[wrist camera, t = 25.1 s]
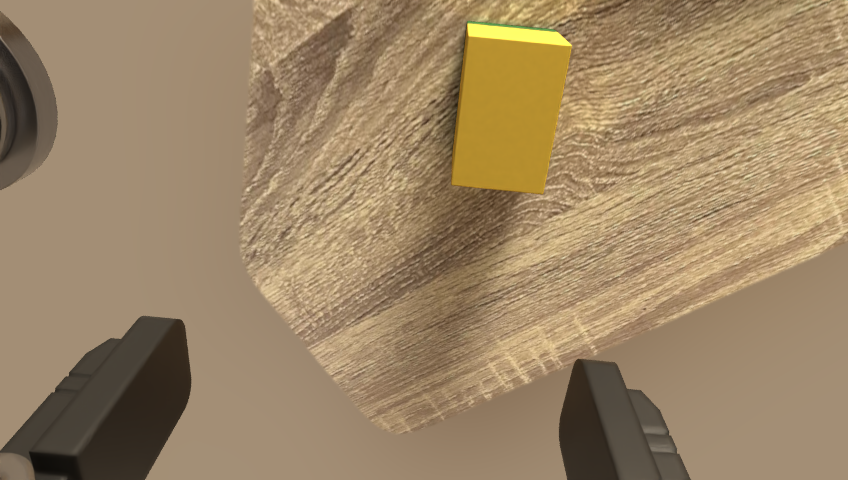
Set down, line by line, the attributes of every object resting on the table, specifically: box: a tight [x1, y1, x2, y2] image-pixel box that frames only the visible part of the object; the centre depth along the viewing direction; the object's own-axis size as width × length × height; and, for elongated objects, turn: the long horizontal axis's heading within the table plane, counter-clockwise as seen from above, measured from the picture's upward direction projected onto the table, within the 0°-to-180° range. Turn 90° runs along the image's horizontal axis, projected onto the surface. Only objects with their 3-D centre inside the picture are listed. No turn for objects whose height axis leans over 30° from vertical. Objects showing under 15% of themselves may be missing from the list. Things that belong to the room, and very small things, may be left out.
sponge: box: [451, 21, 572, 194], centre depth 29 cm, size 4×7×5 cm, turn 175°
